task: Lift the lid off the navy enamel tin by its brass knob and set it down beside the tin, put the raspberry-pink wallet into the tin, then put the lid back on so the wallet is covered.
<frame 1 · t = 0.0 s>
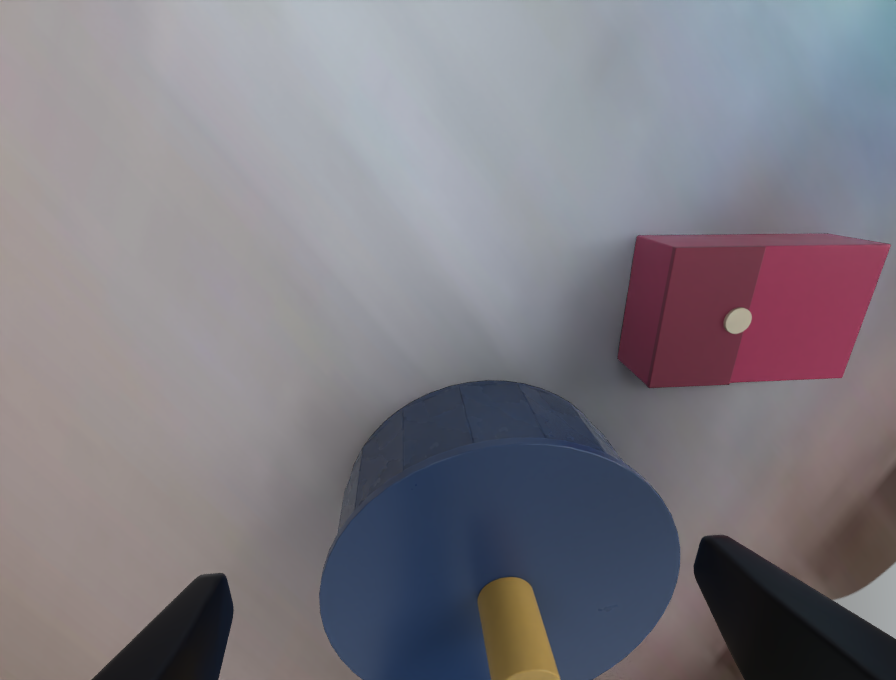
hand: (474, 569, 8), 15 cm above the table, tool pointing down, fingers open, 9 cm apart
tin lid: (503, 587, 21), point 6 cm above the table, touching tin
wallet: (718, 298, 23), on the table
tin: (481, 498, 26), on the table
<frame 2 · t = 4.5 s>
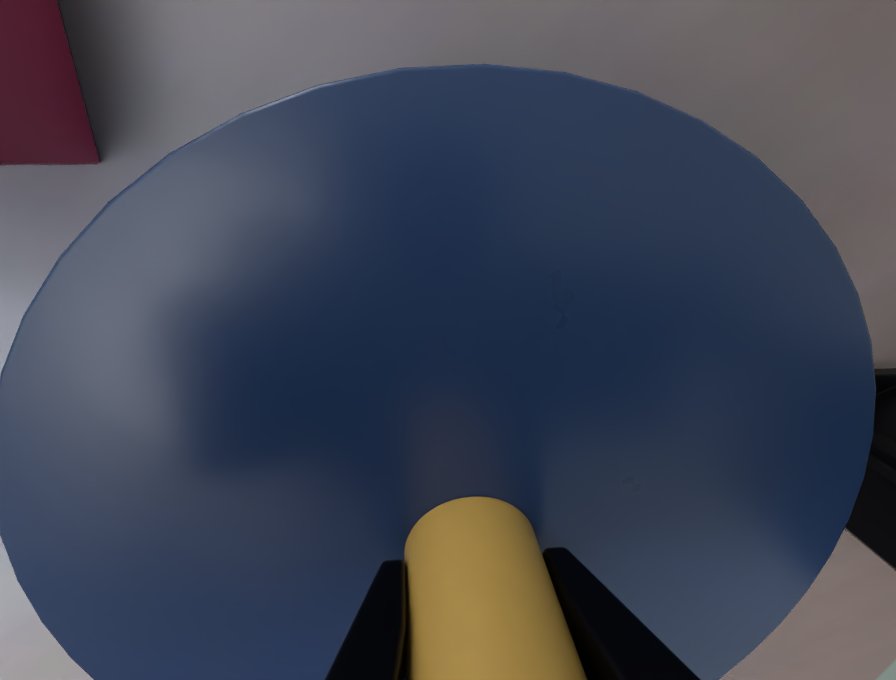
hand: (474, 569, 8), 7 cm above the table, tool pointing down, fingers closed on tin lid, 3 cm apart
tin lid: (466, 528, 9), point 6 cm above the table, touching gripper, tin
when the fingers open (2 cm above the table, at t = 9.4 s): tin lid stays where it is, point 1 cm above the table.
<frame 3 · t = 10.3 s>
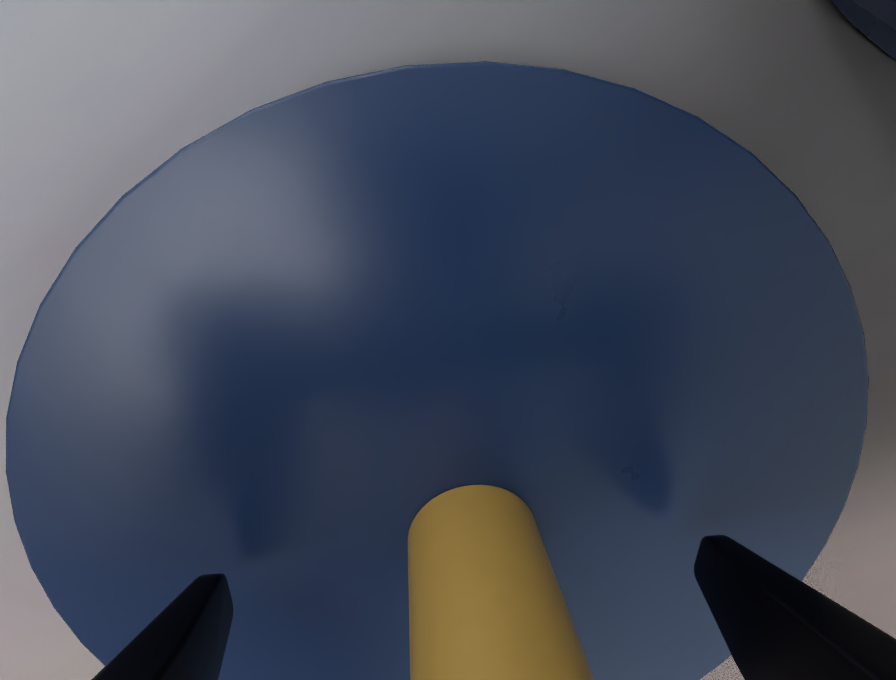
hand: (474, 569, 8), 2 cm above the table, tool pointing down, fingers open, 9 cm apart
tin lid: (468, 517, 10), point 1 cm above the table
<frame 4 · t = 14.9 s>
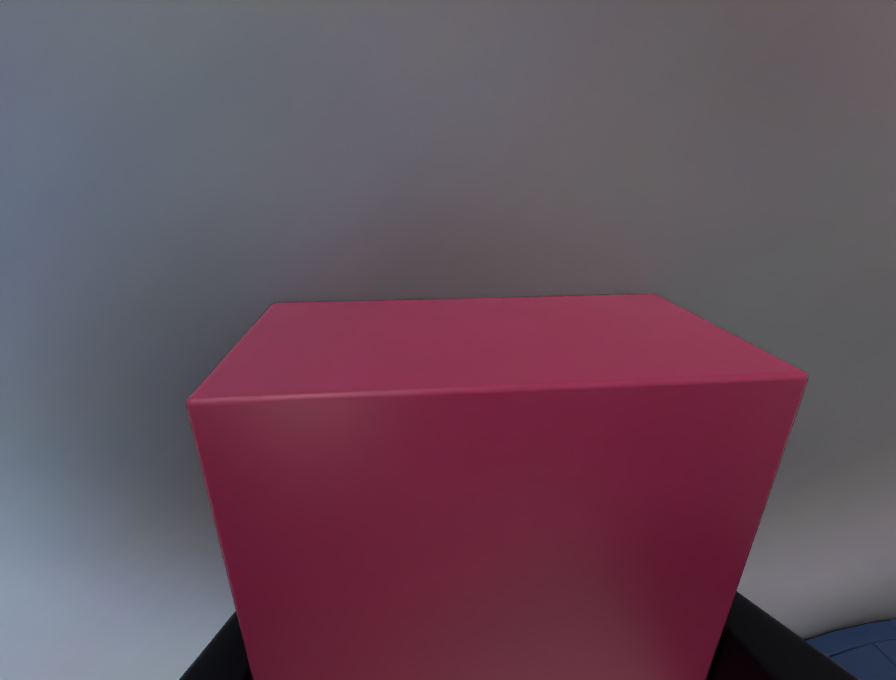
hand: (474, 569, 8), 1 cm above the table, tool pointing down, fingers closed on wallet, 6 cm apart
wallet: (466, 527, 9), on the table, touching gripper
when the fingers open (7 cm above the table, at t = 20.0 s): wallet drops 5 cm, resting on tin.
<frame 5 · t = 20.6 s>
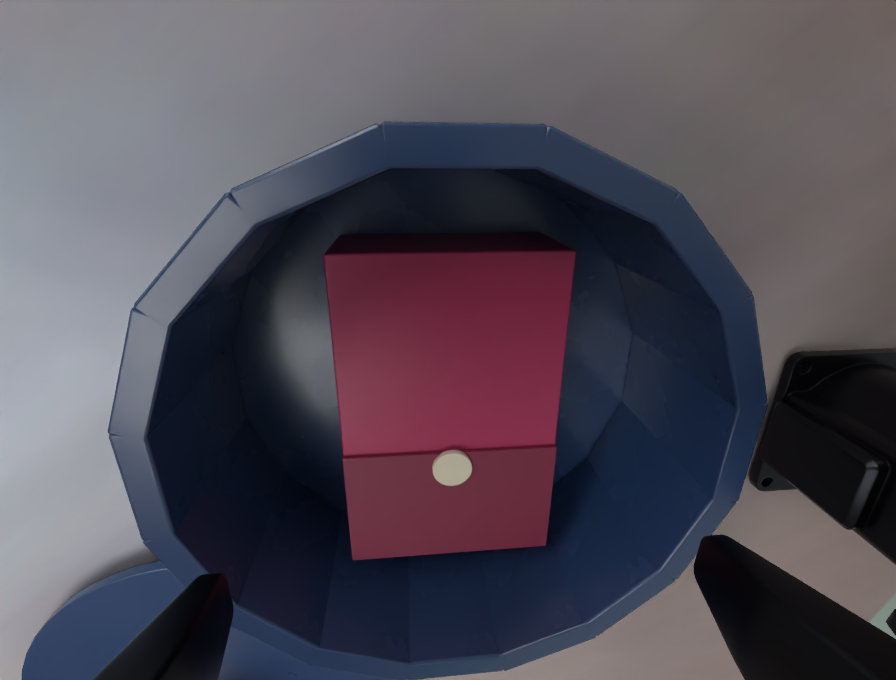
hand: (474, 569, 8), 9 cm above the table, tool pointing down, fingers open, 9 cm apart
wallet: (442, 374, 16), resting on tin
tin: (439, 368, 17), on the table
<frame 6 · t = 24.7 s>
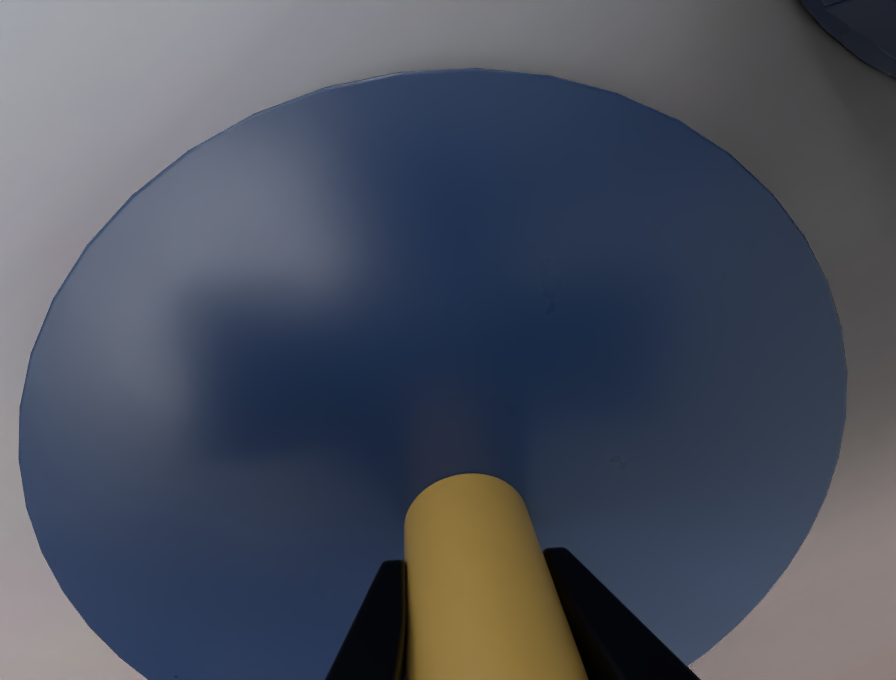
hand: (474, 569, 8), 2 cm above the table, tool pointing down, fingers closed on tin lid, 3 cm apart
tin lid: (462, 505, 10), point 1 cm above the table, touching gripper
when the fingers open (8 cm above the table, at t = 29.1 s): tin lid stays where it is, resting on tin.
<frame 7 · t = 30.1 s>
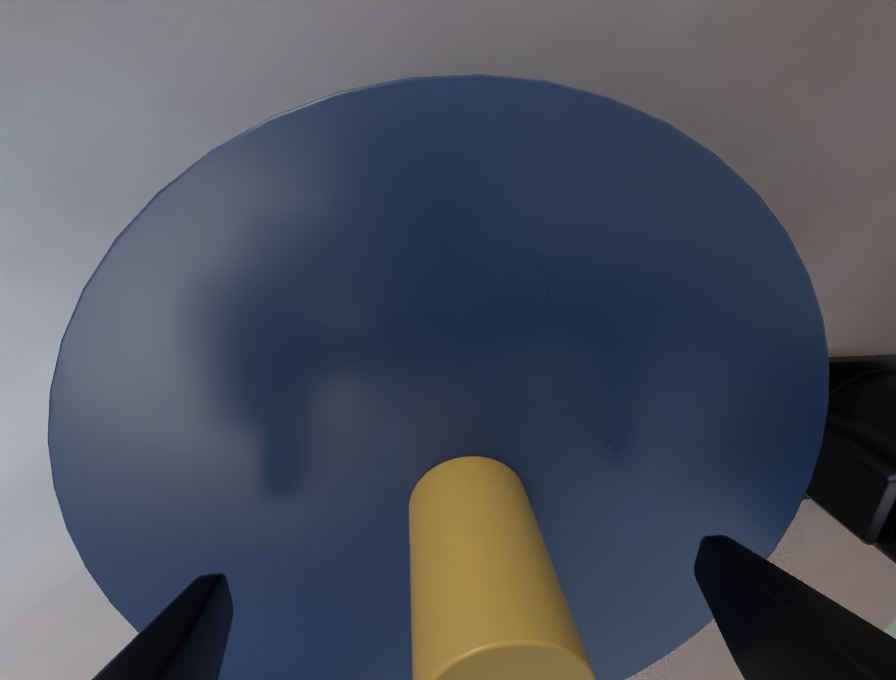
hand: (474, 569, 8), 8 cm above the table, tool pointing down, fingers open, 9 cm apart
tin lid: (464, 488, 10), point 6 cm above the table, touching tin
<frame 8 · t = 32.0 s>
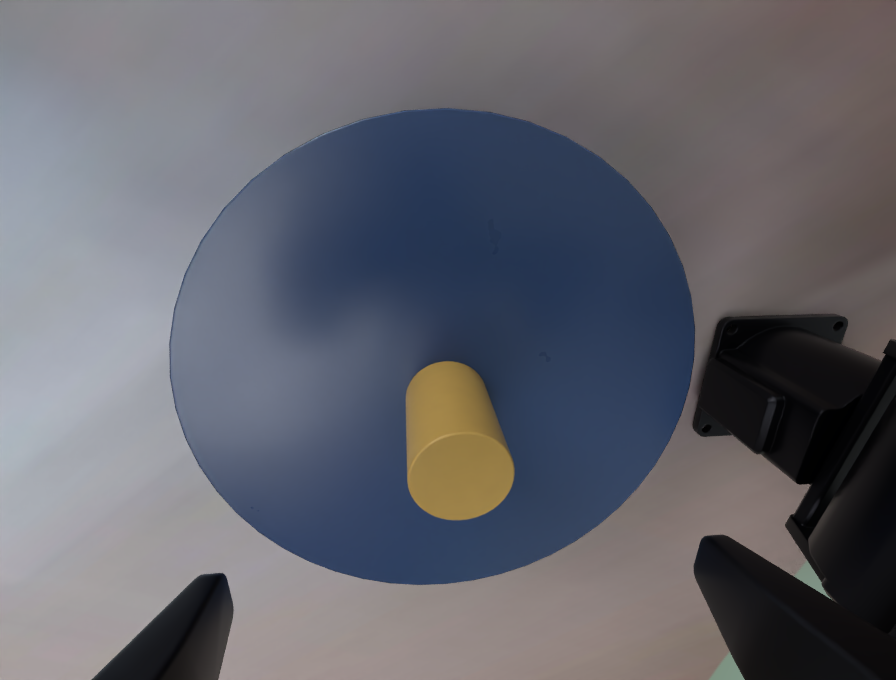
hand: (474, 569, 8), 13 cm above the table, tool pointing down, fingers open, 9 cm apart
tin lid: (444, 389, 15), point 6 cm above the table, touching tin
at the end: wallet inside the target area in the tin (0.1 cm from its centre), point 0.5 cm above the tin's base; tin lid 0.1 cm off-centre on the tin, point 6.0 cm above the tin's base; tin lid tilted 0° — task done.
